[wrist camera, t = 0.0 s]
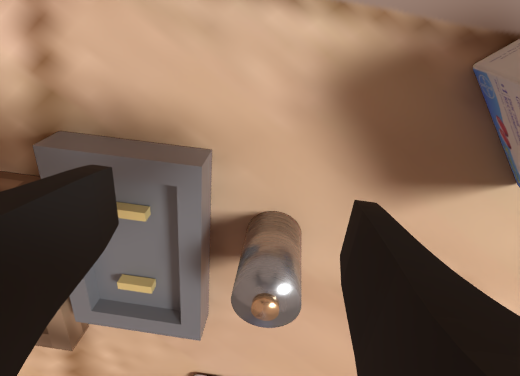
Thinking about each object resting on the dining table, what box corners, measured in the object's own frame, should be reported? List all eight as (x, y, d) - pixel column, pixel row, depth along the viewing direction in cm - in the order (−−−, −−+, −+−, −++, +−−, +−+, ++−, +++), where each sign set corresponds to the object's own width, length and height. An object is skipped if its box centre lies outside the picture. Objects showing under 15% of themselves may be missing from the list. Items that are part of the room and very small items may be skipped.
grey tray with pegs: (208, 314, 27) (198, 347, 25) (92, 297, 28) (70, 328, 25) (212, 149, 20) (198, 171, 18) (59, 130, 21) (24, 149, 18)
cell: (297, 259, 24) (295, 340, 18) (245, 251, 24) (227, 330, 18) (305, 215, 22) (306, 289, 16) (249, 207, 22) (230, 278, 16)
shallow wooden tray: (88, 326, 29) (72, 351, 27) (-21, 309, 30) (-45, 332, 28) (56, 178, 23) (31, 196, 21) (-85, 160, 23) (-124, 176, 21)
